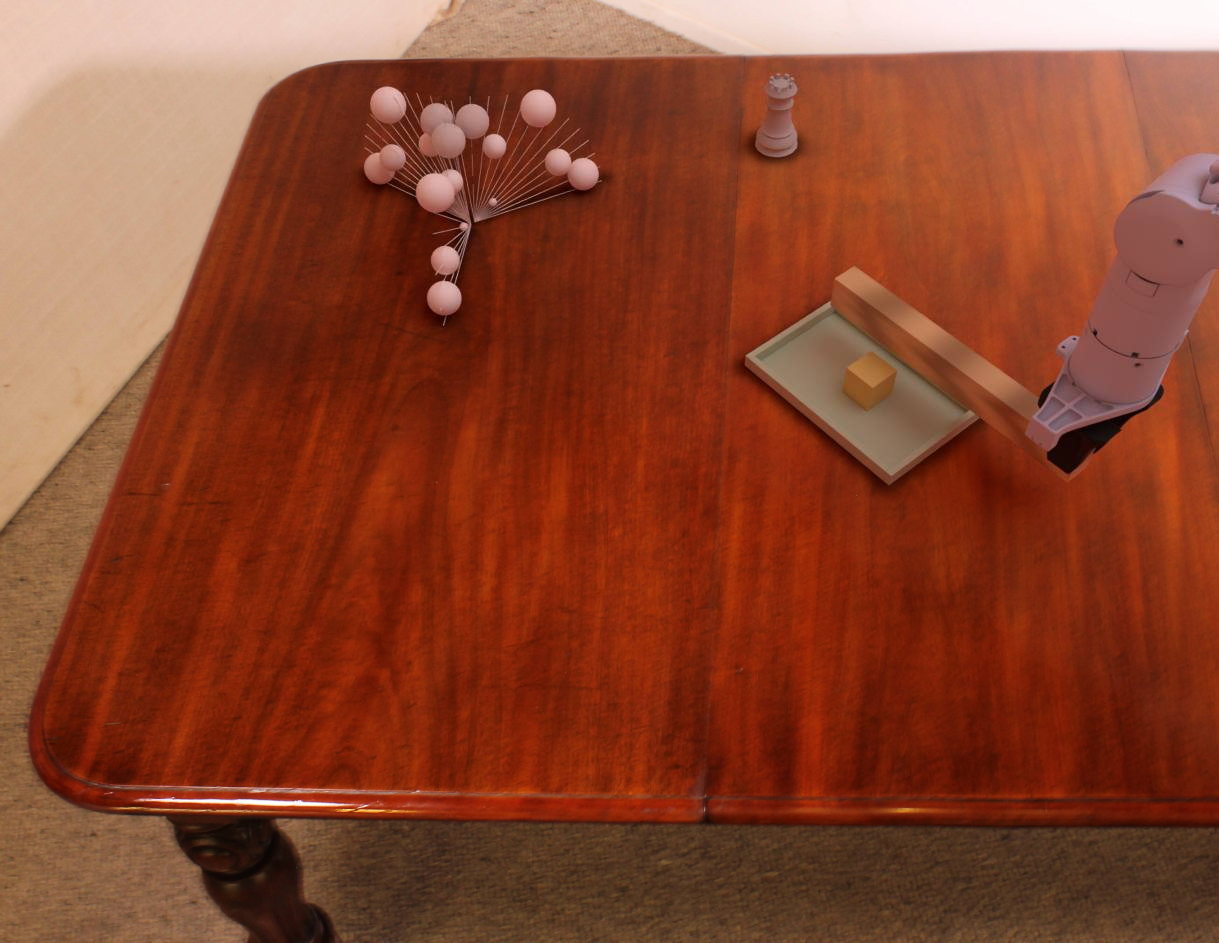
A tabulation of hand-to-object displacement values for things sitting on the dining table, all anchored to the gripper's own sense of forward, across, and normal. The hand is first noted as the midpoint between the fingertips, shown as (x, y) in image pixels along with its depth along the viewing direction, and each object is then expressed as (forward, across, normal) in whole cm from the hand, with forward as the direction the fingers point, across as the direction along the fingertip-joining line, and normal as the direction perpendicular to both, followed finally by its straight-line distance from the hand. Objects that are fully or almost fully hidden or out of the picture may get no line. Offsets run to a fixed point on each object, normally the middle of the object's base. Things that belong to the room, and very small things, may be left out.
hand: (1072, 454), depth 81 cm
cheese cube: (+6, +3, -17) cm, 18 cm away
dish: (+6, +3, -18) cm, 19 cm away
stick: (+2, 0, -12) cm, 12 cm away
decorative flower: (+6, +19, -56) cm, 60 cm away
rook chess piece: (+6, -15, -47) cm, 50 cm away
